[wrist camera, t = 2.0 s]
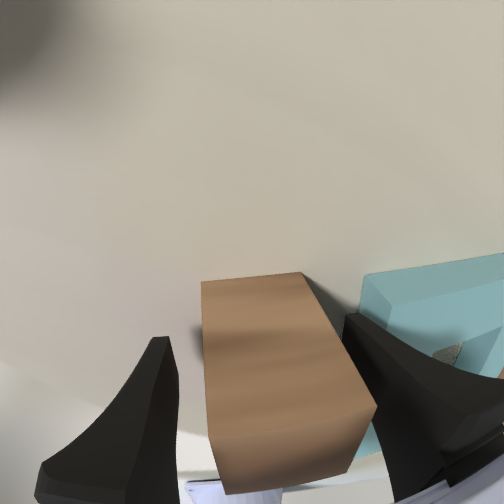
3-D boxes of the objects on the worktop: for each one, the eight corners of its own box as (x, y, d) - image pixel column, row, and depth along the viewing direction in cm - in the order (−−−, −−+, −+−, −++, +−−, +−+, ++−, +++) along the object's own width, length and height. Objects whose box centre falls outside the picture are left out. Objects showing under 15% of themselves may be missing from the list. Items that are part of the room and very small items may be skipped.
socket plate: (464, 387, 20) (478, 406, 18) (328, 435, 19) (339, 463, 17) (521, 249, 15) (546, 266, 13) (364, 275, 13) (392, 306, 11)
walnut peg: (296, 345, 14) (346, 472, 8) (211, 356, 14) (225, 495, 8) (300, 271, 13) (377, 405, 6) (201, 281, 12) (208, 437, 6)
